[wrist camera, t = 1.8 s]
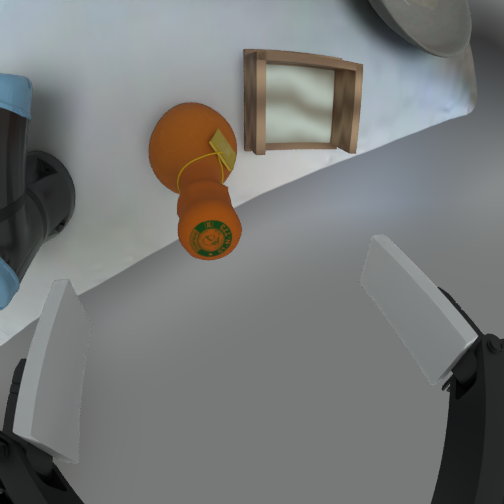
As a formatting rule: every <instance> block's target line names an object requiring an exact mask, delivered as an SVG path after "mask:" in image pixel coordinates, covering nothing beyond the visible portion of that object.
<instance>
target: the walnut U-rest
mask: <svg viewBox="0 0 504 504" xmlns="http://www.w3.org/2000/svg"><path fill="white" fill-rule="evenodd" d="M362 79H363V64H359V63H354V62H349V61H344V60H342V58H336V57H330V56H324V55H317V54H310V53H301V52H291V51H279V50H262V49H244V150H245V151H253V152H254V153H255V154H256V155H265V150H286V149H337V147H338V148H340V149H342V150H344V151H346V152H348V153H354V154H356V148H357V139H358V130H359V120H360V108H361V95H362Z"/></svg>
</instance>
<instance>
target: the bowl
mask: <svg viewBox="0 0 504 504" xmlns="http://www.w3.org/2000/svg"><path fill="white" fill-rule="evenodd" d="M369 2H370V4H371V5H372V7H373V9H374V10H375V11H376V12H377V14H378V15H379V16H380V17H381V18H382V20H383V21H384V22H385V23H386V24H387V25H388V26H389V27H390V28H391V29H392V30H393V31H395V32H396V33H397V34H398V35H400V36H401V37H402V38H404V39H405V40H406V41H408V42H409V43H411V44H412V45H414V46H415V47H417V48H419V49H421V50H423V51H425V52H427V53H429V54H431V55H434V56H439V57H445V58H447V57H454V56H457V55H459V54H461V53H462V52H463V51H464V50H465V49H466V47H467V45H468V43H469V40H470V36H471V15H470V10H469V5H468V2H467V0H369Z"/></svg>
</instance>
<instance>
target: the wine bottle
mask: <svg viewBox="0 0 504 504" xmlns="http://www.w3.org/2000/svg"><path fill="white" fill-rule="evenodd" d="M236 156H237V143H236V138H235V135H234V132H233V130H232V128H231V126H230V125H229V123H228V122H227V121H226V120H225V119H224V118H223V117H222V116H221V115H220V114H219V113H218V112H216V111H215V110H213V109H212V108H210V107H208V106H206V105H203V104H199V103H183V104H180V105H177V106H175V107H173V108H172V109H170V110H169V111H168V112H167V113H165V114H164V116H163V117H162V118H161V119H160V120H159V122H158V124H157V125H156V127H155V129H154V131H153V133H152V136H151V139H150V143H149V160H150V164H151V167H152V169H153V172H154V173H155V175H156V177H157V178H158V179H159V181H160V182H161V183H162V184H163V185H164V186H166V187H167V188H168V189H170V190H171V191H173V192H175V193H178V194H180V196H179V199H178V203H177V214H178V216H179V218H180V219H179V223H178V237H179V240H180V242H181V244H182V246H183V247H184V248H185V249H186V250H187V252H188V253H189V254H190V255H192V256H193V257H195V258H198V259H202V260H215V259H219V258H222V257H224V256H226V255H228V254H229V253H231V252H232V251H233V250H234V248H235V247H236V245H237V244H238V242H239V239H240V236H241V232H242V227H241V223H240V220H239V218H238V216H237V214H236V212H235V211H234V209H233V207H232V205H231V199H230V196H229V193H228V187H226V186H225V185H223V183H224V182H225V181H226V179H227V178H228V176H229V175H230V173H231V171H232V170H233V168H234V164H235V161H236Z"/></svg>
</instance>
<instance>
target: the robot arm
mask: <svg viewBox="0 0 504 504" xmlns="http://www.w3.org/2000/svg"><path fill="white" fill-rule="evenodd" d="M32 92H33V87H32V83H31V82H30V80H29V79H28V78H26V77H24V76H19V75H13V74H1V73H0V310H3V309H4V308H5V307H6V306H7V305H8V304H9V303H10V301H11V299H12V298H13V296H14V295H15V293H16V292H17V291H18V290H19V287H20V283H21V281H22V279H23V277H24V275H25V273H26V271H27V269H28V268H29V266H30V264H31V262H32V260H33V259H34V257H35V255H36V253H37V252H38V250H39V248H40V247H41V245H42V244H43V243H45V242H46V241H48V240H50V239H51V238H53V237H55V236H56V235H58V234H59V233H60V232H61V231H62V230H63V229H64V227H65V226H66V224H67V223H68V221H69V219H70V218H71V216H72V213H73V210H74V205H75V190H74V185H73V182H72V179H71V177H70V175H69V173H68V171H67V169H66V168H65V167H64V165H63V164H62V163H61V162H60V161H59V160H58V159H56V158H55V157H54V156H52V155H50V154H48V153H45V152H39V151H33V152H28V153H27V141H28V130H29V121H30V120H31V114H30V109H31V100H32ZM359 283H360V284H361V285H362V287H363V288H364V289H365V291H366V292H367V293H368V295H369V296H370V297H371V299H372V300H373V301H374V303H375V304H376V305H377V307H378V308H379V309H380V311H381V312H382V314H383V315H384V316H385V318H386V319H387V321H388V322H389V323H390V325H391V326H392V328H393V329H394V330H395V332H396V333H397V335H398V336H399V337H400V339H401V340H402V342H403V343H404V345H405V346H406V348H407V349H408V351H409V352H410V354H411V355H412V357H413V358H414V360H415V361H416V363H417V364H418V366H419V367H420V368H421V370H422V372H423V373H424V375H425V377H426V378H427V380H428V381H429V383H430V384H431V386H433V385H434V384H436V383H438V382H439V381H441V380H442V379H444V378H445V377H446V376H447V374H448V373H449V372H450V371H452V372H453V375H452V376H451V377H450V378H449V379H448V380H447V381H446V383H445V384H444V385H443V386H442V390H445V388H447V386H448V385H449V384H450V386H449V387H448V389H447V391H448V392H450V398H449V411H448V421H447V429H446V437H445V443H444V450H443V455H442V461H441V465H440V470H439V475H438V479H437V483H436V487H435V491H434V494H433V498H432V501H431V504H504V339H499V338H498V337H497V336H495V335H493V334H486V335H484V334H482V332H481V331H480V330H479V329H478V327H477V326H476V325H475V324H474V323H473V321H472V320H471V319H470V318H469V317H468V315H467V314H466V313H465V312H464V311H463V310H461V307H460V306H459V305H458V304H457V303H455V302H456V301H455V300H454V299H453V298H452V297H451V296H450V295H449V294H448V293H447V292H445V291H444V290H442V289H441V288H439V287H436V286H435V285H434V284H433V282H432V281H431V280H430V279H429V278H428V277H427V276H426V275H425V274H424V273H423V272H422V271H421V270H420V269H419V268H418V267H417V266H416V265H415V264H414V263H413V262H412V261H411V260H410V259H409V258H408V257H407V256H406V255H405V254H404V253H403V252H402V251H401V250H400V249H399V248H398V247H397V246H396V245H395V244H394V243H393V242H392V241H391V240H390V239H389V238H388V237H386V235H385V234H382V235H376V236H372V237H371V241H370V245H369V249H368V252H367V256H366V260H365V264H364V267H363V270H362V274H361V277H360V281H359ZM91 328H92V324H91V322H90V320H89V318H88V316H87V314H86V313H85V311H84V309H83V307H82V305H81V303H80V301H79V299H78V297H77V295H76V293H75V291H74V289H73V287H72V284H71V282H70V280H69V279H64V280H57V281H54V283H53V285H52V288H51V290H50V292H49V295H48V297H47V300H46V303H45V305H44V308H43V311H42V313H41V316H40V319H39V322H38V325H37V328H36V331H35V334H34V337H33V340H32V343H31V347H30V350H29V353H28V357H27V359H21V360H20V362H19V364H18V365H17V367H16V369H15V371H14V375H13V379H12V385H11V388H10V394H9V397H8V402H7V407H6V413H5V419H4V425H3V431H0V504H84V503H83V501H82V500H81V499H80V498H79V497H78V495H77V494H76V493H75V491H74V490H73V489H72V487H71V486H70V485H69V483H68V482H67V481H66V479H65V478H64V476H63V475H62V473H61V472H60V471H59V469H58V467H57V466H56V465H55V464H54V463H53V462H52V461H53V460H52V459H53V457H54V458H56V459H58V460H60V461H63V462H69V463H77V464H79V425H80V409H81V397H82V386H83V378H84V370H85V362H86V356H87V350H88V344H89V338H90V333H91Z"/></svg>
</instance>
